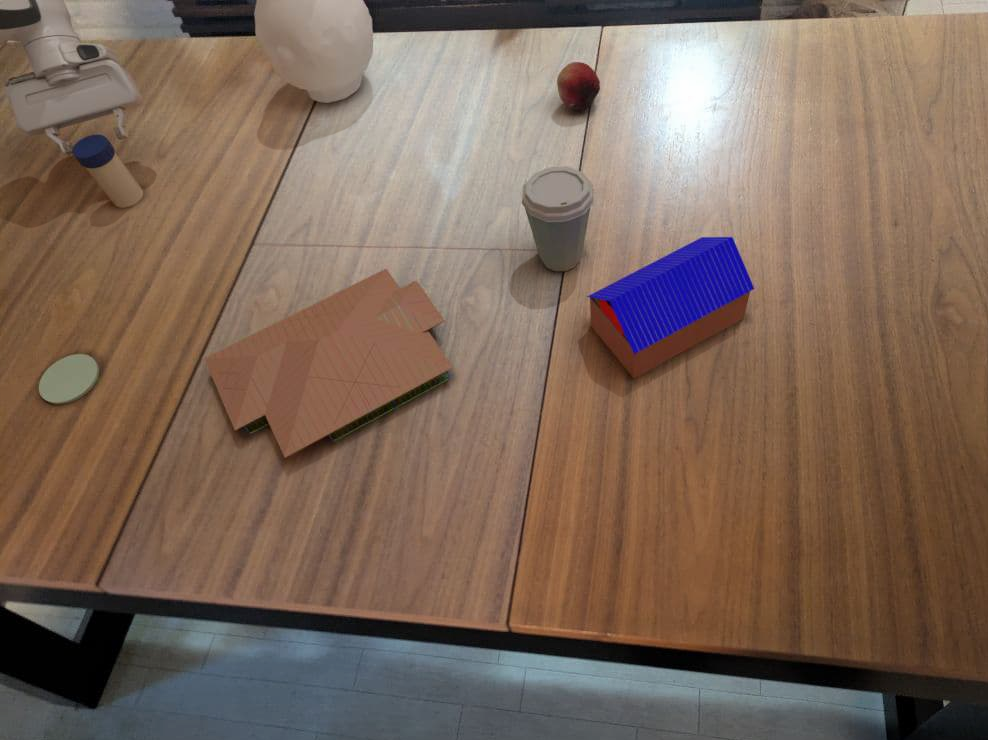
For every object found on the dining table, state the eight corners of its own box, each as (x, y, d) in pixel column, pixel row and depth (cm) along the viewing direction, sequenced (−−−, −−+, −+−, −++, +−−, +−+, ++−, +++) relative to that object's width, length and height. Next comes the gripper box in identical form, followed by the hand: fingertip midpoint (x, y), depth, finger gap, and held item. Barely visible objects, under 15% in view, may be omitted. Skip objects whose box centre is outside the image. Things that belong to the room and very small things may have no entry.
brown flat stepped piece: (473, 371, 103) (463, 337, 96) (263, 484, 96) (236, 457, 90) (407, 274, 114) (393, 238, 107) (214, 370, 108) (187, 338, 101)
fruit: (585, 87, 135) (583, 48, 129) (608, 107, 132) (608, 68, 125) (551, 104, 134) (547, 64, 127) (573, 124, 130) (571, 85, 123)
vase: (361, 125, 136) (302, -40, 110) (268, 109, 141) (191, -51, 116) (403, 67, 144) (357, -98, 119) (313, 54, 150) (251, -106, 124)
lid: (79, 172, 121) (71, 161, 119) (80, 150, 124) (72, 140, 122) (115, 162, 122) (107, 151, 120) (115, 141, 125) (107, 130, 123)
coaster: (39, 411, 107) (36, 409, 106) (43, 366, 111) (40, 364, 111) (98, 394, 107) (96, 391, 107) (100, 349, 112) (97, 347, 111)
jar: (113, 211, 129) (74, 162, 120) (113, 191, 132) (75, 142, 123) (143, 202, 130) (107, 153, 120) (143, 183, 133) (107, 133, 123)
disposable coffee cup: (524, 240, 116) (513, 167, 103) (587, 227, 116) (584, 151, 103) (537, 288, 110) (527, 217, 98) (604, 273, 111) (602, 200, 98)
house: (746, 318, 104) (760, 263, 94) (633, 381, 100) (635, 331, 90) (697, 268, 109) (705, 211, 100) (587, 325, 106) (585, 272, 96)
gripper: (-12, 76, 117) (27, 160, 120) (112, 42, 119) (147, 126, 122) (9, 85, 123) (46, 165, 126) (126, 53, 125) (159, 132, 128)
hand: (96, 145), depth 124 cm, fingers open, 8 cm apart
